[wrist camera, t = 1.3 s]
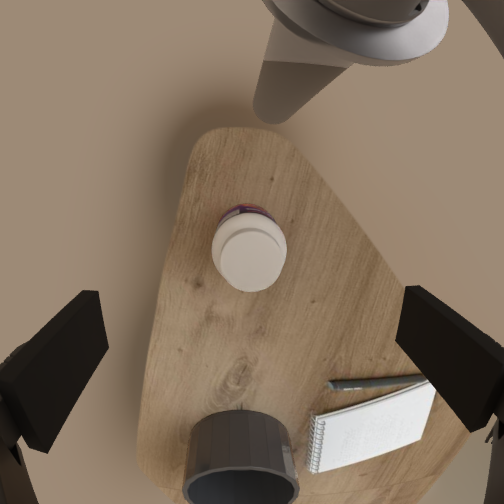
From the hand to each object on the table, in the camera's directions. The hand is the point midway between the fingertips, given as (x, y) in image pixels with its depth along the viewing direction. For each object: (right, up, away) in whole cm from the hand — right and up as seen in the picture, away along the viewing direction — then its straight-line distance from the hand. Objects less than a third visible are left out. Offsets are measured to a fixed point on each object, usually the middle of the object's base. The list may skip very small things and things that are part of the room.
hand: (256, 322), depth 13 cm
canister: (-2, -22, +24) cm, 33 cm away
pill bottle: (-1, +5, +17) cm, 18 cm away
